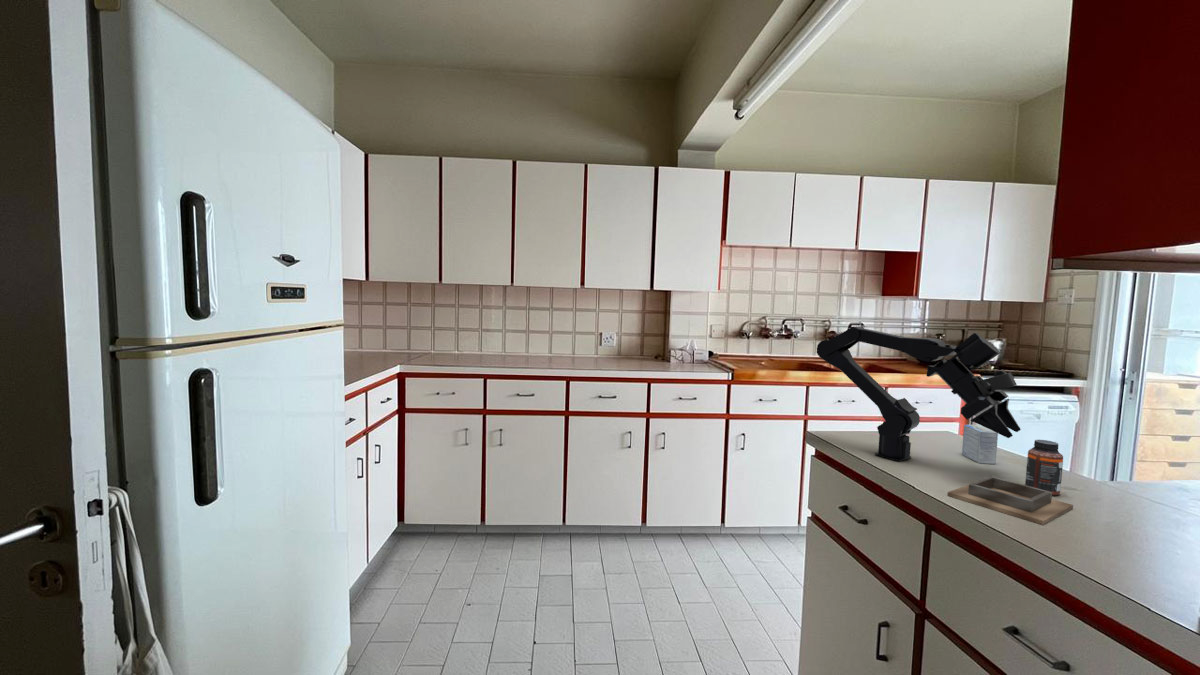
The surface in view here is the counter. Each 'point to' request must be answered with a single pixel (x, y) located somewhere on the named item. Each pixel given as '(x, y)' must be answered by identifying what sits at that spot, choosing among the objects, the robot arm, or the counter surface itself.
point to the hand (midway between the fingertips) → (1014, 433)
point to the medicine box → (980, 444)
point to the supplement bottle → (1044, 467)
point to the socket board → (1012, 499)
